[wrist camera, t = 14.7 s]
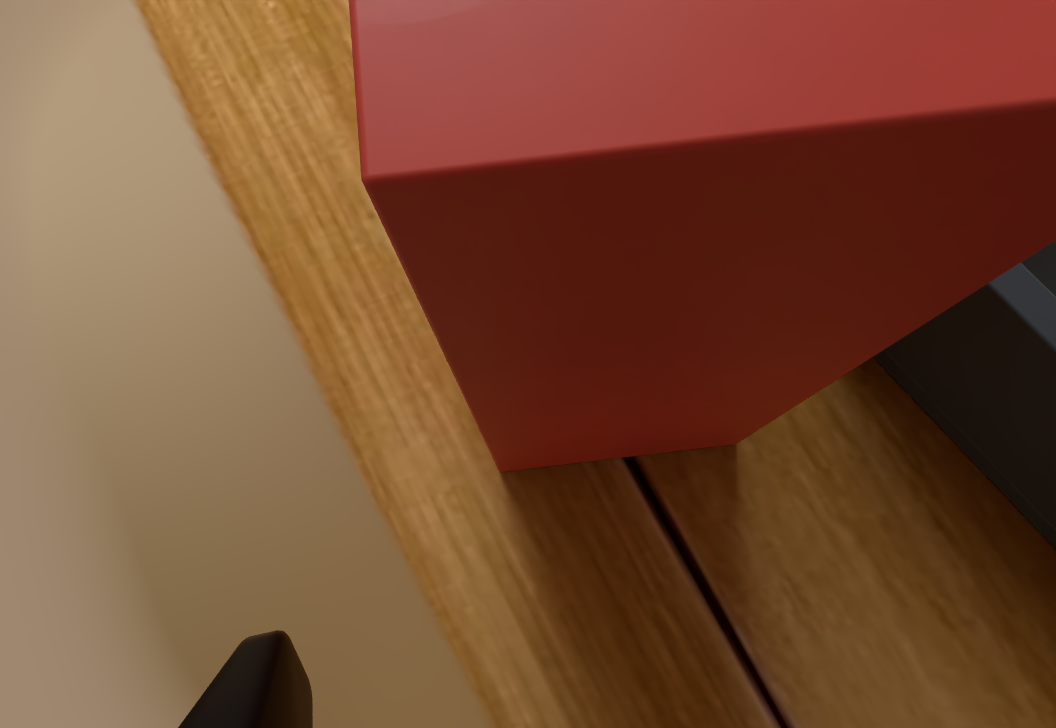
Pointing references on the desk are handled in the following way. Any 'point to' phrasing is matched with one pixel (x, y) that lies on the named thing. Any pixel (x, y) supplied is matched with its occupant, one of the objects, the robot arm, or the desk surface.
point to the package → (694, 196)
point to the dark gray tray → (995, 381)
